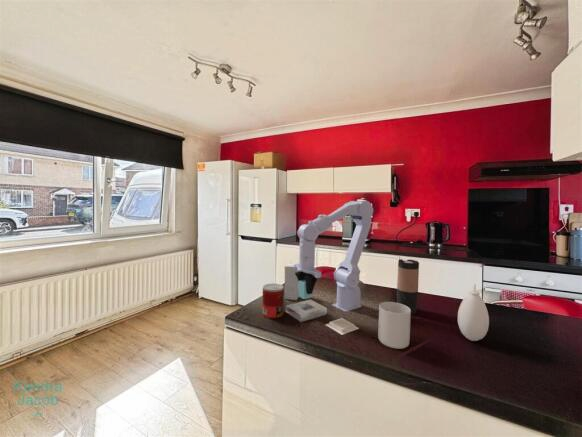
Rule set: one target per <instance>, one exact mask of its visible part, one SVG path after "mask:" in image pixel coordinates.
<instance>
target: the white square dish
mask: <svg viewBox="0 0 582 437" xmlns="http://www.w3.org/2000/svg"><path fill="white" fill-rule="evenodd" d="M324 325H325V326H326V327H328V328H330V329H331V330H333V331H334V332H336V333H338V334H339V335H341V336H342V335H345V334H348V333H350V332H353V331H356V330H358V329H360V328H359V327H357V326H356V325H355V324H354V323H352V322H350V321H349V320H347V319H344V318H343V317H340V318H337V319H334V320H331V321H329V323H326V324H324Z"/></svg>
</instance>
